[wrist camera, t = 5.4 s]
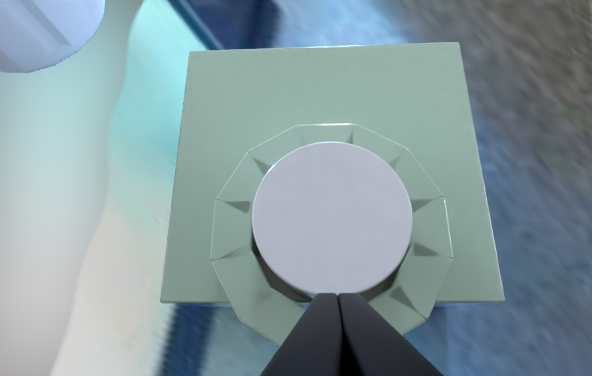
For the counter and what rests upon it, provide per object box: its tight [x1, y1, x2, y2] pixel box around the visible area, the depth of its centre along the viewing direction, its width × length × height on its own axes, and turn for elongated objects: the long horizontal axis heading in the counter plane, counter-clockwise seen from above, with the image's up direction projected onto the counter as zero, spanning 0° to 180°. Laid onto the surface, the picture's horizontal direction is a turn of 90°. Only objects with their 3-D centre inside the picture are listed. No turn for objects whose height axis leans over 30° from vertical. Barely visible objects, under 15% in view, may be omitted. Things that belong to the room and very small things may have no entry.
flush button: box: [252, 142, 413, 299], centre depth 10 cm, size 4×4×2 cm
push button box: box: [160, 42, 505, 347], centre depth 15 cm, size 11×11×8 cm
